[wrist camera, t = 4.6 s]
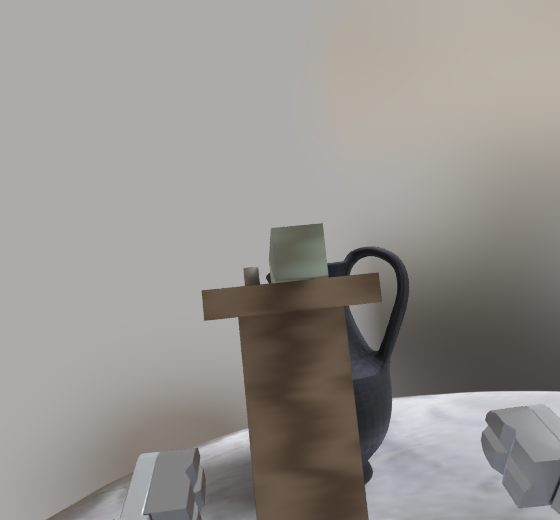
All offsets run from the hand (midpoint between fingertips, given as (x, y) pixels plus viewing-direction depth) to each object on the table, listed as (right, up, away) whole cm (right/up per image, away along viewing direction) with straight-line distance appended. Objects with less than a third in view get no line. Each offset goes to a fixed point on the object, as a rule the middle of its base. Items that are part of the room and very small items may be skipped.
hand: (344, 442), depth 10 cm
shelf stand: (+1, -23, +18) cm, 29 cm away
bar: (-1, +4, +16) cm, 16 cm away
